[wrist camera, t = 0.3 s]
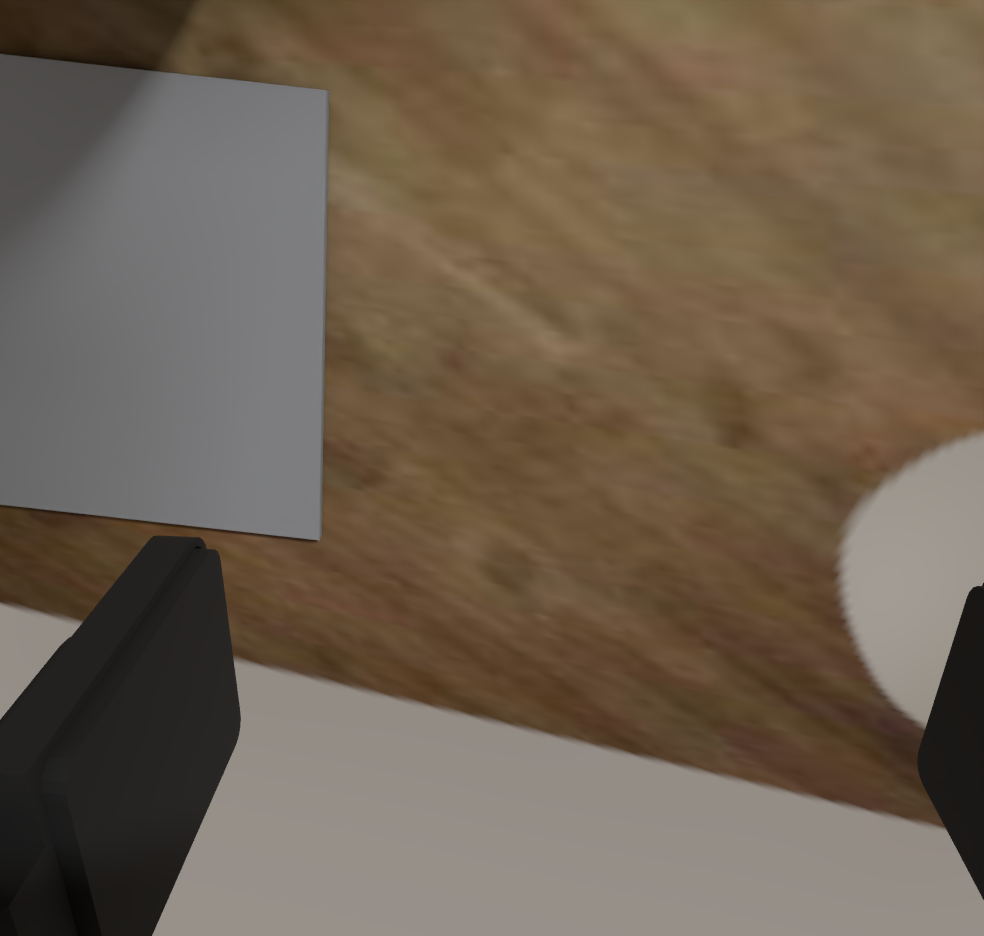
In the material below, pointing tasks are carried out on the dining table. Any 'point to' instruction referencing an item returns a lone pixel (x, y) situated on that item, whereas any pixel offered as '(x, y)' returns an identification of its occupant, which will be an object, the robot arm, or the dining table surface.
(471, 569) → the dining table surface
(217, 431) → the mat
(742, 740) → the dining table surface
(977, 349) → the dining table surface
